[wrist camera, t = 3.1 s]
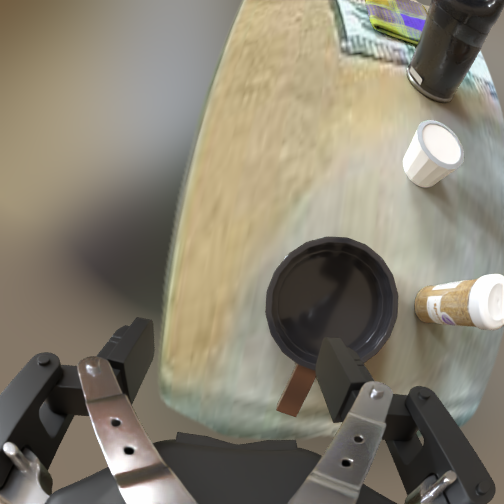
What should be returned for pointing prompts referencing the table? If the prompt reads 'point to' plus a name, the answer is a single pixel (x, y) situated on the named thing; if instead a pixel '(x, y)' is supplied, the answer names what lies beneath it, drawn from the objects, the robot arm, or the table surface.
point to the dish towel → (397, 18)
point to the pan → (331, 299)
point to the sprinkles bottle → (464, 303)
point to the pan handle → (296, 390)
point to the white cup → (432, 154)
